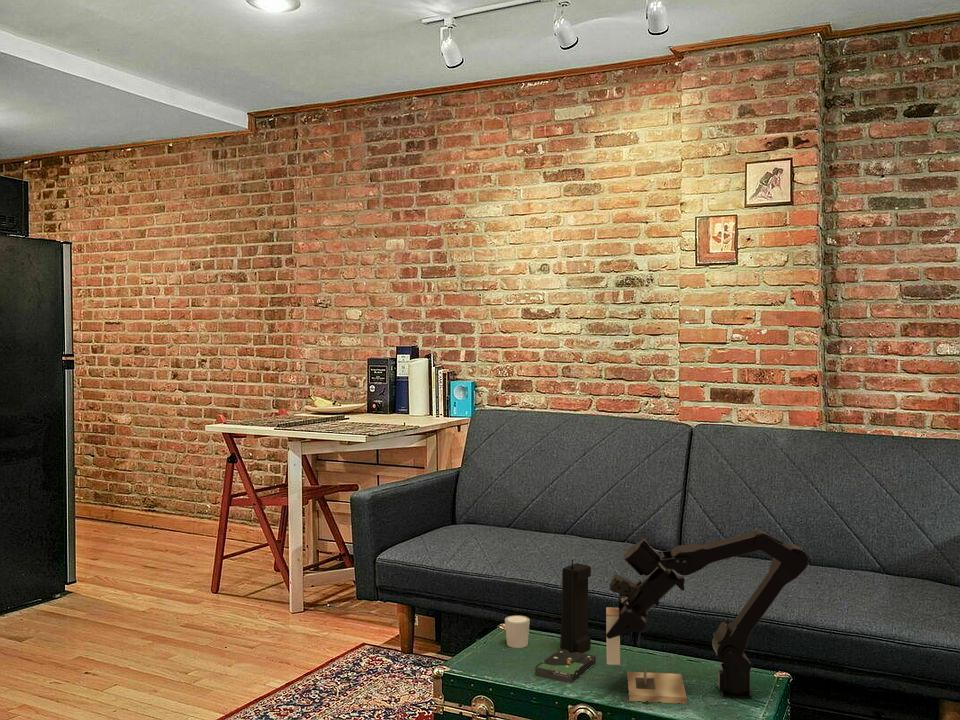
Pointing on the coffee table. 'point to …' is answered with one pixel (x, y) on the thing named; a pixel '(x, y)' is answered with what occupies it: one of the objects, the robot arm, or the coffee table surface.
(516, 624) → the white cup
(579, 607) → the dark tower with antenna
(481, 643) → the coffee table surface
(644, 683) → the header board
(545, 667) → the disk drive
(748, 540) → the robot arm
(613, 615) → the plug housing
